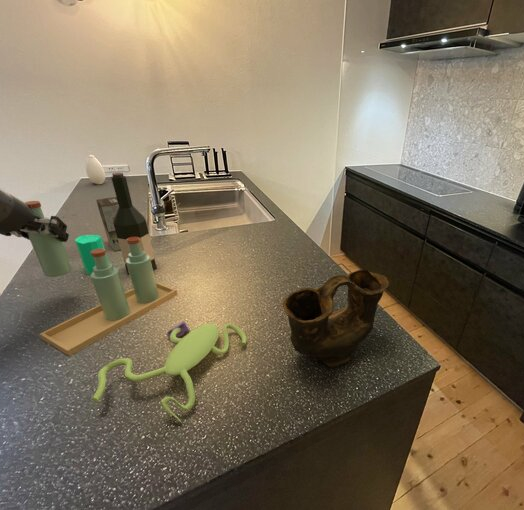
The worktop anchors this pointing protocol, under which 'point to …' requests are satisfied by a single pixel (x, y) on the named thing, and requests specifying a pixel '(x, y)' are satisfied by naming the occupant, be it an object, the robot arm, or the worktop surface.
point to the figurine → (178, 359)
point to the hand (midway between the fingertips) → (51, 238)
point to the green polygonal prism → (89, 250)
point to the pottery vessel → (334, 316)
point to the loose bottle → (48, 248)
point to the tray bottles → (111, 284)
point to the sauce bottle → (95, 170)
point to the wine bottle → (129, 221)
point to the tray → (99, 323)
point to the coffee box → (109, 219)
